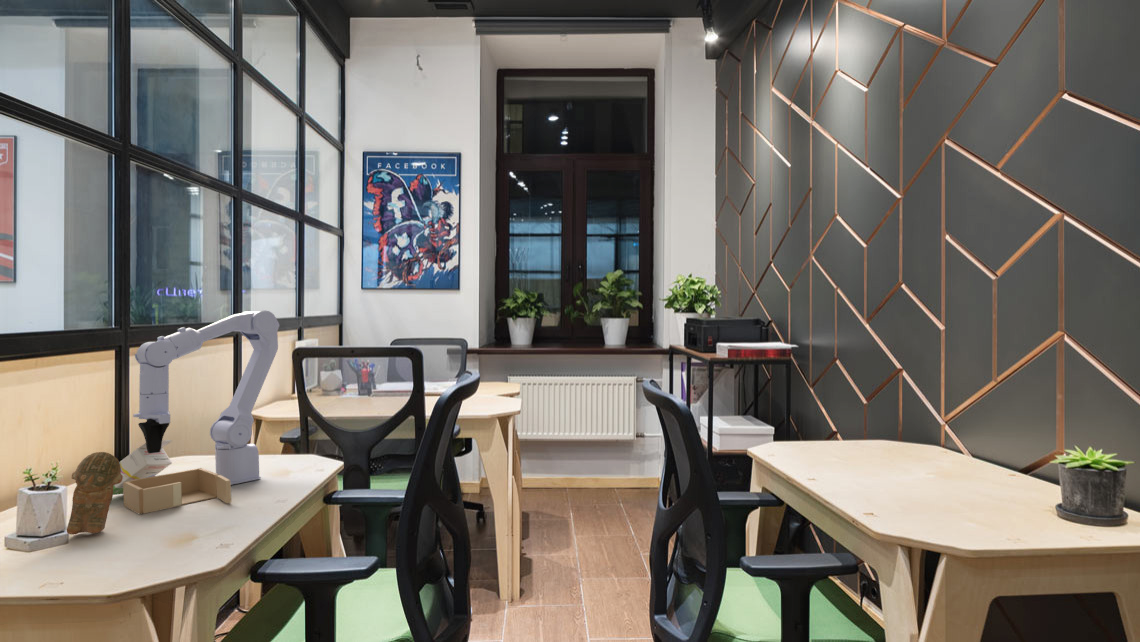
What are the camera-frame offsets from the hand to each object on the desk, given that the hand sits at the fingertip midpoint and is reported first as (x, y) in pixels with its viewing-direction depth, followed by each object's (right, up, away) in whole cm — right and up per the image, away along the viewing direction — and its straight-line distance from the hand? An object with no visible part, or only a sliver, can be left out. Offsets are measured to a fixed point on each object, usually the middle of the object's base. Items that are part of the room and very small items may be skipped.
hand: (153, 452), depth 150 cm
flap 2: (+18, -10, -3) cm, 21 cm away
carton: (+6, -11, -3) cm, 12 cm away
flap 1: (+8, -10, -9) cm, 16 cm away
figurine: (+4, -11, -23) cm, 26 cm away
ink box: (-11, -9, +3) cm, 14 cm away
